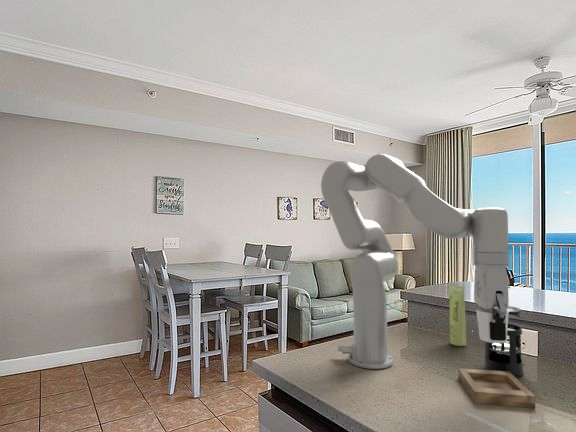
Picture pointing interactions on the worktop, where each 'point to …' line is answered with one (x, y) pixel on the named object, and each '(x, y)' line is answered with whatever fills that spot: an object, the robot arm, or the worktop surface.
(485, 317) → the white tapered cylinder
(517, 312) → the french press
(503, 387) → the tray
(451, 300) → the tube
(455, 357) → the worktop surface
